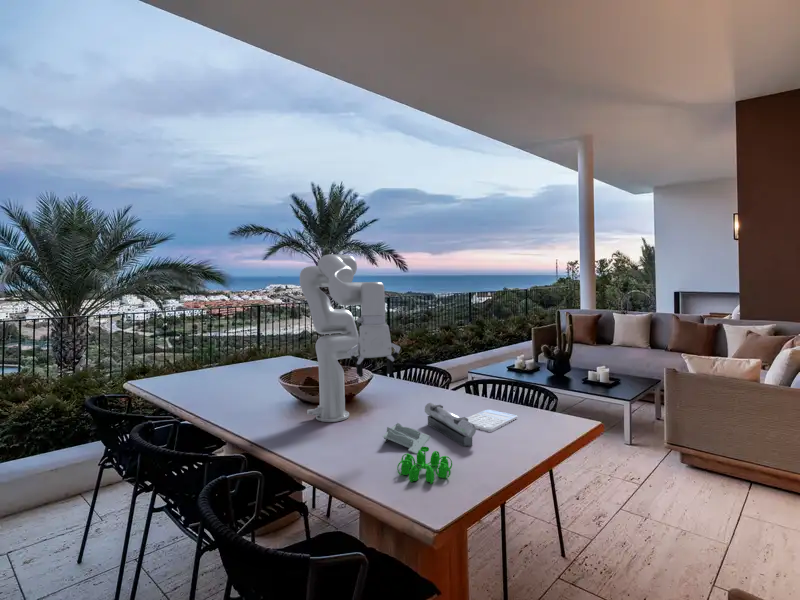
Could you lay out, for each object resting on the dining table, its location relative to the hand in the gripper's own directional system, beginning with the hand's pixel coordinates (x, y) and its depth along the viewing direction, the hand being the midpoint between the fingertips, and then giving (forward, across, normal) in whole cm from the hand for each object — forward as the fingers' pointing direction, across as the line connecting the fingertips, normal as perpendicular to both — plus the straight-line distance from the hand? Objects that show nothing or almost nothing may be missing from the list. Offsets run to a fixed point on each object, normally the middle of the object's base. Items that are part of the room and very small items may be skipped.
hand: (375, 374), depth 136 cm
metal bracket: (+23, +8, -3) cm, 24 cm away
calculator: (+23, +44, +5) cm, 50 cm away
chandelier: (+23, +6, -26) cm, 35 cm away
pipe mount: (+22, +24, -2) cm, 33 cm away
